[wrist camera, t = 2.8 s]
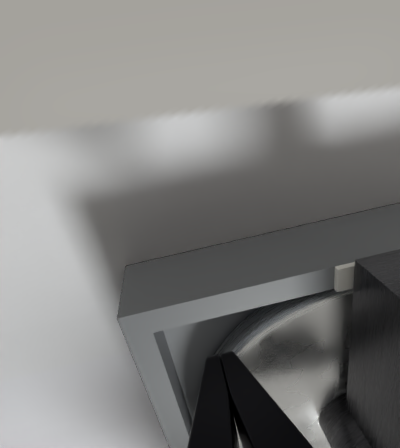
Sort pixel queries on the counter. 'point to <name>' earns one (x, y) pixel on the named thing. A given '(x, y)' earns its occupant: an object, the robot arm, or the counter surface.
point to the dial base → (232, 298)
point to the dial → (332, 358)
